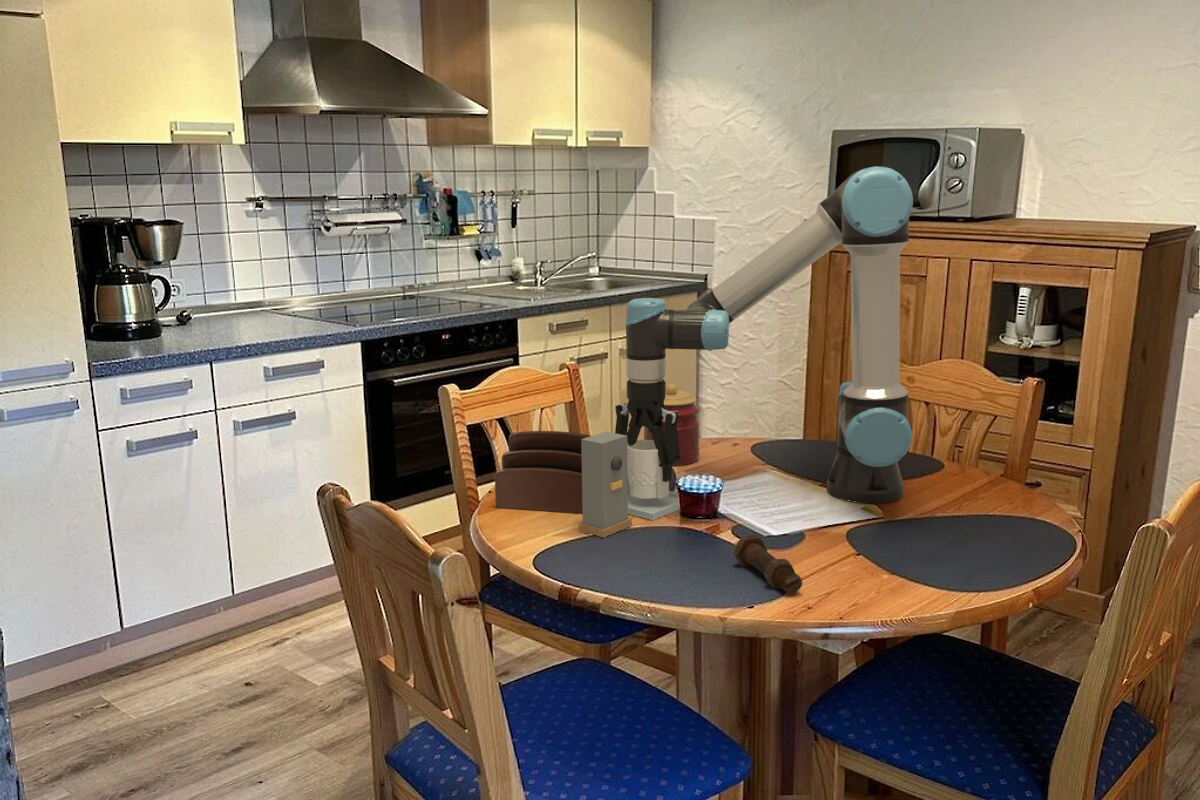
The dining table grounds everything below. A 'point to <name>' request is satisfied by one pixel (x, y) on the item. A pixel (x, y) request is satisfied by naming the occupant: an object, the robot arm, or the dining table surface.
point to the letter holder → (541, 472)
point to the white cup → (643, 469)
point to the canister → (682, 423)
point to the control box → (604, 484)
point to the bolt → (767, 564)
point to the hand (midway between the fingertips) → (646, 492)
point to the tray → (653, 506)
